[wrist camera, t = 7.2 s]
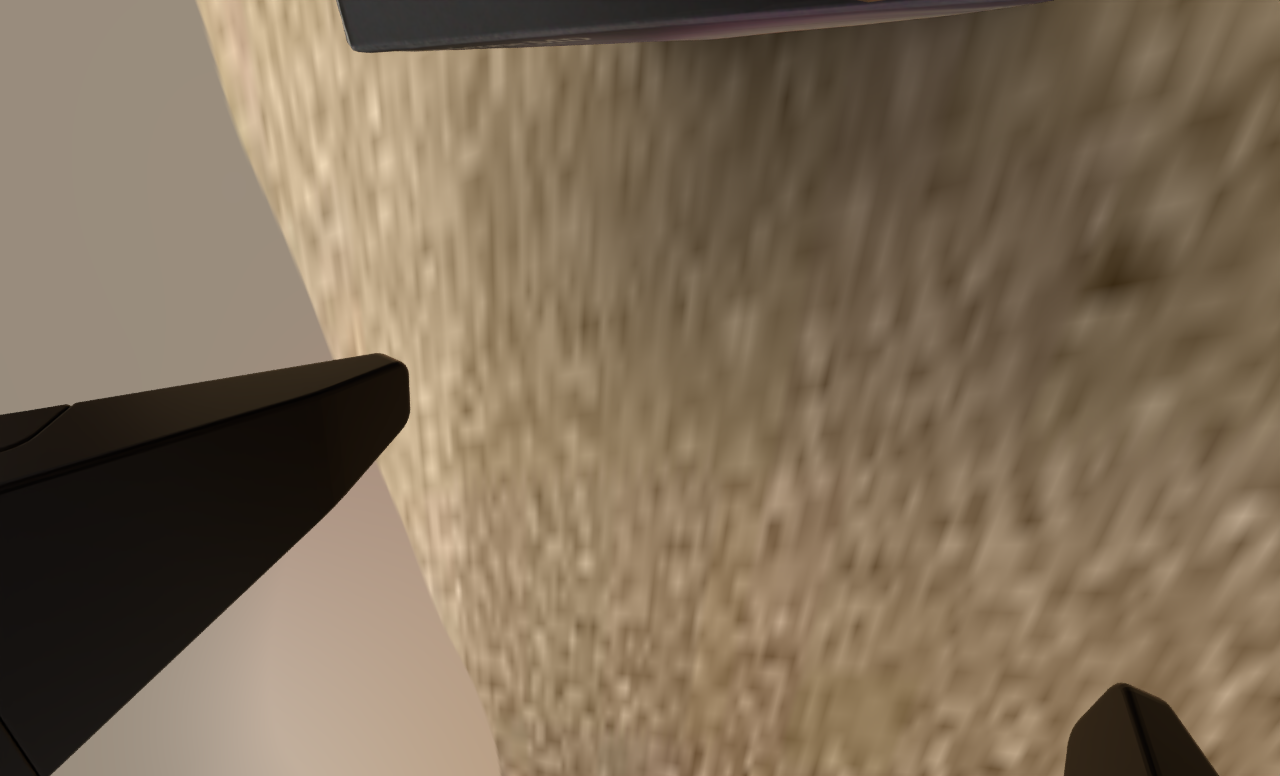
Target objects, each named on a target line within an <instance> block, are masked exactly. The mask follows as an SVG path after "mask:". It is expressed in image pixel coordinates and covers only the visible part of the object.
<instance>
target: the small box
mask: <svg viewBox="0 0 1280 776" xmlns="http://www.w3.org/2000/svg"><path fill="white" fill-rule="evenodd" d="M336 1H337V5H338V8H339V12H340V15H341V18H342V22H343V27H344V31H345V35H346V39H347V42H348V44H349V45H350V47H351V48H352V49H353V50H355V51H357V52H366V53H376V52H390V51H436V50H465V49H486V48H518V47H542V46H566V45H589V44H611V43H631V42H652V41H681V40H711V39H721V38H731V37H740V36H750V35H760V34H771V33H781V32H792V31H803V30H814V29H825V28H836V27H847V26H857V25H866V24H875V23H884V22H893V21H903V20H912V19H922V18H931V17H941V16H951V15H958V14H966V13H973V12H980V11H988V10H995V9H1002V8H1010V7H1017V6H1023V5H1029V4H1036V3H1042V2H1047V1H1052V0H881V1H873V2H864V1H859V0H336Z"/></svg>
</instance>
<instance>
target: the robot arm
mask: <svg viewBox="0 0 1280 776" xmlns="http://www.w3.org/2000/svg"><path fill="white" fill-rule="evenodd" d="M409 414H410V392H409V372H408V369H407V367H406V365H405V364H404V363H402V362H401V361H398V360H396V359H394V358H392V357H389V356H387V355H385V354H381V353H374V354H368V355H362V356H356V357H350V358H344V359H338V360H332V361H326V362H321V363H314V364H308V365H302V366H296V367H290V368H284V369H277V370H271V371H266V372H259V373H253V374H247V375H242V376H236V377H229V378H223V379H217V380H212V381H205V382H199V383H193V384H187V385H181V386H175V387H169V388H163V389H157V390H151V391H145V392H139V393H132V394H126V395H120V396H115V397H108V398H102V399H96V400H90V401H84V402H78V403H75V404H73V405H72V406H70V405H67V404H65V405H60V406H53V407H47V408H41V409H35V410H29V411H23V412H16V413H10V414H3V415H0V776H50V775H51V774H52V773H53V772H55V771H56V769H57V768H59V767H60V766H61V765H62V764H63V763H64V762H65V761H66V760H67V759H68V758H69V757H70V756H71V755H72V754H74V753H75V752H76V751H77V750H78V748H80V747H81V746H82V745H83V744H84V743H85V742H86V741H87V740H88V739H90V738H91V737H92V735H94V734H95V733H96V732H97V731H98V730H99V729H100V728H101V727H102V726H103V725H104V724H105V723H106V722H108V721H109V720H110V719H111V718H112V717H113V716H114V715H115V714H116V713H117V712H118V711H119V710H120V709H121V708H122V707H123V706H124V705H126V704H127V703H128V702H129V701H130V700H131V699H132V698H133V697H134V696H135V695H136V694H137V693H138V692H139V691H140V690H141V689H142V688H143V687H145V686H146V685H147V684H148V683H149V682H150V681H151V680H152V679H153V678H154V677H155V676H156V675H157V674H158V673H159V672H161V670H163V669H164V668H165V667H166V666H167V665H168V664H169V663H170V662H171V661H172V660H173V659H174V658H175V657H176V656H177V655H179V654H180V653H181V652H182V651H183V650H184V649H185V648H186V647H187V646H188V645H189V644H190V643H191V642H192V641H193V640H194V639H195V638H197V637H198V636H199V635H200V634H201V632H203V631H204V630H205V629H206V628H207V627H208V626H209V625H210V624H211V623H212V622H213V621H214V620H215V619H217V618H218V617H219V616H220V615H221V614H222V613H223V612H224V611H225V610H226V609H227V608H228V607H229V606H230V605H232V604H233V603H234V602H235V601H236V600H237V599H238V598H239V597H240V596H241V595H242V594H243V593H244V592H245V591H246V590H247V589H248V588H250V587H251V586H252V585H253V584H254V583H255V582H256V581H257V580H258V579H259V578H260V577H261V576H262V575H263V574H264V573H265V572H266V571H267V570H269V568H271V567H272V566H273V565H274V564H275V563H276V562H277V561H278V560H279V559H280V558H281V557H282V556H283V555H285V554H286V552H288V550H290V549H291V548H292V547H293V546H294V545H295V544H296V543H297V542H298V541H299V540H300V539H301V538H302V537H304V536H305V535H306V534H307V533H308V532H309V531H310V530H311V529H312V528H313V527H314V526H315V525H316V524H317V523H318V522H319V521H320V520H321V519H323V518H324V517H325V516H326V515H327V514H328V513H329V512H330V511H331V510H332V509H333V508H334V507H335V506H336V504H337V503H338V502H339V501H340V500H341V499H342V498H343V497H344V496H345V495H346V494H347V493H348V491H349V490H350V489H351V488H352V487H353V486H354V484H355V483H356V482H357V481H358V480H359V479H360V477H361V476H362V475H363V474H364V473H365V472H366V471H367V469H368V468H369V467H370V466H371V465H372V464H373V462H374V461H375V460H376V459H377V458H378V457H379V456H380V454H381V453H382V452H383V451H384V450H385V449H386V448H387V446H388V445H389V444H390V443H391V442H392V441H393V439H394V438H395V437H396V436H397V435H398V434H399V433H400V431H401V430H402V429H403V428H404V426H405V424H406V423H407V421H408V418H409ZM1064 776H1219V775H1218V773H1217V772H1216V771H1215V769H1214V768H1213V766H1212V765H1211V763H1210V762H1209V761H1208V759H1207V758H1206V756H1205V755H1204V754H1203V752H1202V751H1201V749H1200V748H1199V746H1198V745H1197V744H1196V742H1195V741H1194V739H1193V738H1192V736H1191V735H1190V734H1189V732H1188V731H1187V729H1186V728H1185V726H1184V725H1183V724H1182V722H1181V721H1180V719H1179V718H1178V717H1177V715H1176V714H1175V712H1174V711H1173V710H1172V708H1171V707H1170V706H1169V705H1168V704H1167V703H1166V702H1165V701H1163V700H1162V699H1160V698H1159V697H1156V696H1154V695H1152V694H1150V693H1147V692H1145V691H1143V690H1141V689H1138V688H1136V687H1134V686H1132V685H1129V684H1126V683H1117V684H1115V685H1113V686H1111V687H1110V688H1109V689H1108V690H1107V691H1106V692H1105V693H1104V694H1103V695H1102V696H1101V697H1100V698H1099V699H1098V700H1097V701H1096V702H1095V704H1094V705H1093V706H1092V707H1091V708H1090V709H1089V710H1088V711H1087V712H1086V713H1085V714H1084V715H1083V716H1082V717H1081V718H1080V719H1079V720H1078V722H1077V723H1076V724H1075V726H1074V727H1073V729H1072V732H1071V734H1070V737H1069V741H1068V746H1067V754H1066V762H1065V770H1064Z"/></svg>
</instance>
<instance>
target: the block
mask: <svg viewBox="0 0 1280 776" xmlns="http://www.w3.org/2000/svg"><path fill="white" fill-rule="evenodd" d="M859 1H864V2H873V1H881V0H859Z"/></svg>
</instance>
